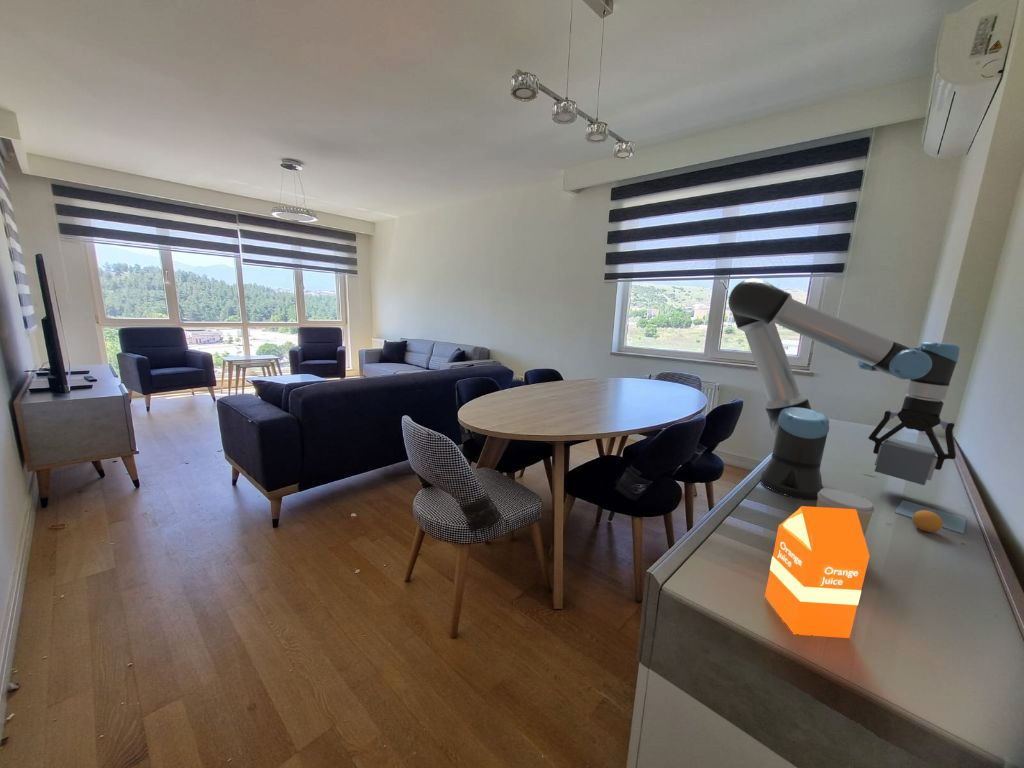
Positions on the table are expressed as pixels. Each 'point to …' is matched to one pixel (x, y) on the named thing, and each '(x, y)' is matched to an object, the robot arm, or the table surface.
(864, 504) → the coffee cup
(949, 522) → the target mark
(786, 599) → the orange juice
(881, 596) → the table surface
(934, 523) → the ball
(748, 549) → the table surface
